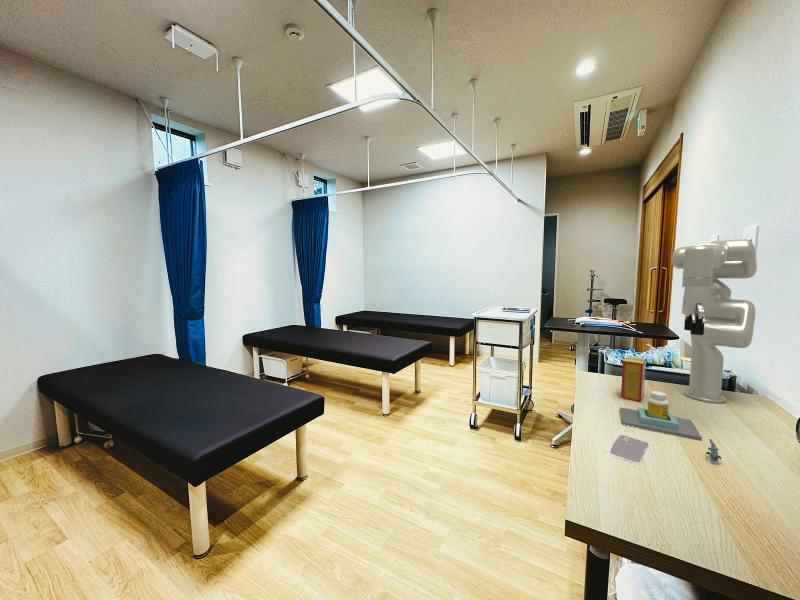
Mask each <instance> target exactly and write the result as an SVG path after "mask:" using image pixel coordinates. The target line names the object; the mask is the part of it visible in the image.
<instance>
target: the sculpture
mask: <svg viewBox="0 0 800 600" xmlns="http://www.w3.org/2000/svg"><path fill="white" fill-rule="evenodd" d="M708 440H709V442H710V446H709V447H708V451H706V452H705V456H706V457H707V458H706V459H705V461H707V462H709V463H710V464H711V465H713V464H715V465H716V466H720V465H723V462H720V461H719V460H722V456H721V455H719V452H718V451H719V450H720V449H719V448H717V445H716V444H715V442H714V441H713V438H708ZM705 456H704V457H705ZM715 465H714V466H715Z"/></svg>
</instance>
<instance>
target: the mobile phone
mask: <svg viewBox="0 0 800 600" xmlns="http://www.w3.org/2000/svg"><path fill="white" fill-rule="evenodd" d="M611 446H612V448H611V447H610V448H611V451H610V452H611V454H613V455H615V456H618V457H621V458H624V459H627V460H629V461H632V462H635V463H640V462H641V463H642V461H641V460H643V459H644V457H645V455H646V453H647V451H648V449H647V448H649V446H650V445H649V443H648V442H646V441H643V440H640V439H637V438H634V437H630V436H626V435H623V434H620V435H618V437H617V438H616V439H615V441H614V442H613V443H612V445H611ZM645 452H646V453H645ZM644 454H645V455H644ZM643 456H644V457H643ZM642 458H643V459H642ZM629 461H628V462H629ZM632 462H631V463H632ZM635 463H634V464H635ZM641 463H640V464H641Z"/></svg>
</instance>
